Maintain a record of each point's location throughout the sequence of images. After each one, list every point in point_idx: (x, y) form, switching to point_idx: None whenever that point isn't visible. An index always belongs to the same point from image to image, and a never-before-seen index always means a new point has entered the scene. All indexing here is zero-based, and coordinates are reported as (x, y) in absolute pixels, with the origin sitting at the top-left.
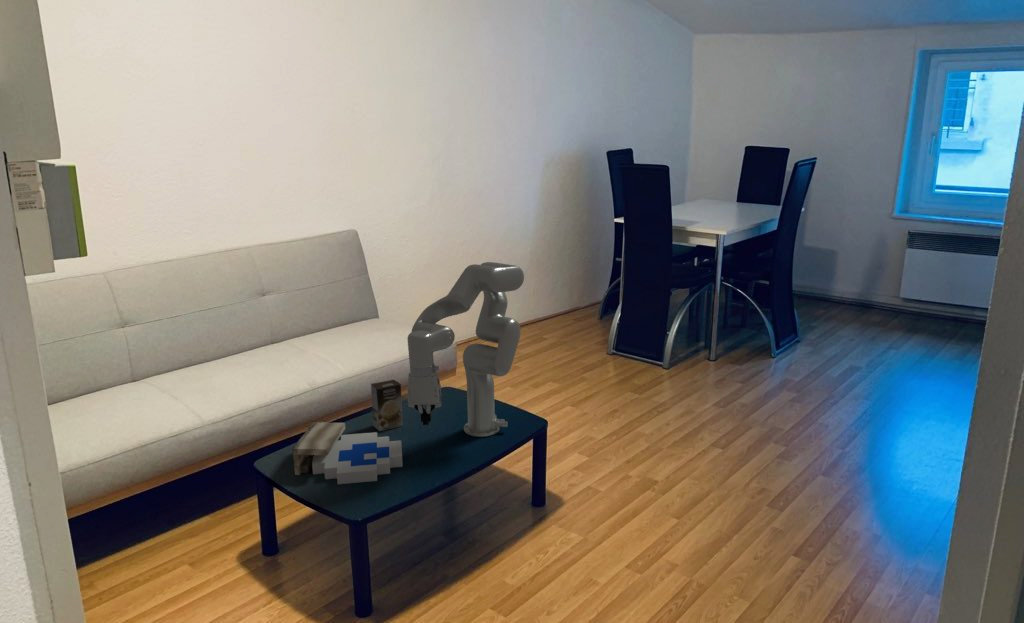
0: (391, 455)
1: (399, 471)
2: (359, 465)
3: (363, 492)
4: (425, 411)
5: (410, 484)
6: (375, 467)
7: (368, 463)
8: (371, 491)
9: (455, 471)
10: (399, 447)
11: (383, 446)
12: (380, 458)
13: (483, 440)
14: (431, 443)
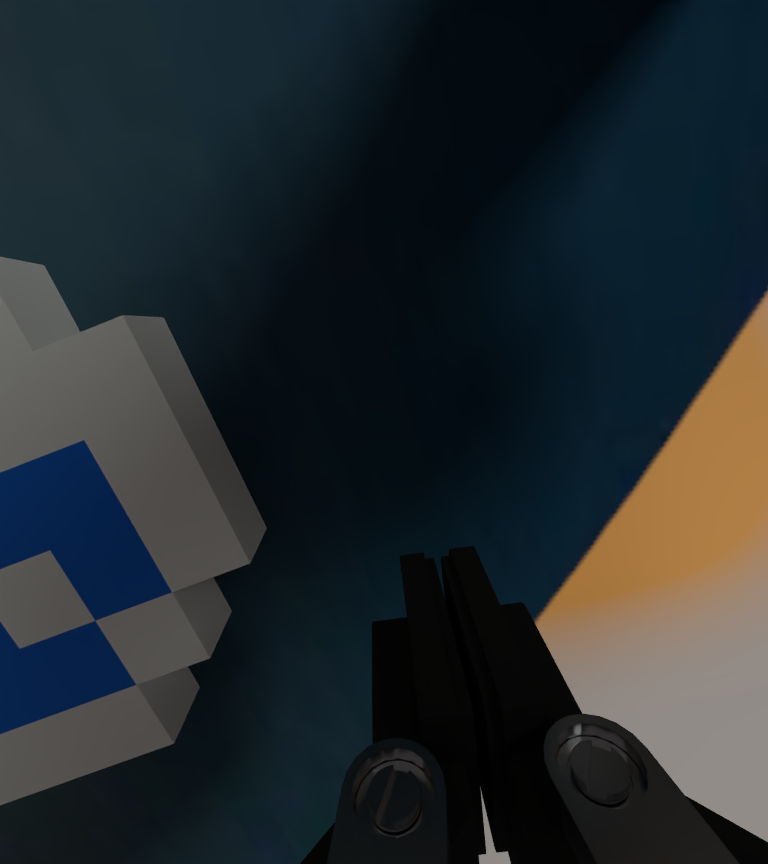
0: (172, 565)
1: (272, 580)
2: (39, 717)
3: (189, 785)
4: (473, 759)
5: None
6: (151, 717)
7: (80, 686)
8: (222, 771)
9: (578, 524)
10: (169, 441)
11: (40, 447)
12: (120, 615)
13: (709, 38)
14: (330, 165)
